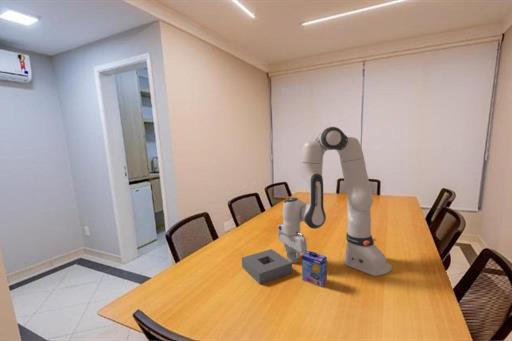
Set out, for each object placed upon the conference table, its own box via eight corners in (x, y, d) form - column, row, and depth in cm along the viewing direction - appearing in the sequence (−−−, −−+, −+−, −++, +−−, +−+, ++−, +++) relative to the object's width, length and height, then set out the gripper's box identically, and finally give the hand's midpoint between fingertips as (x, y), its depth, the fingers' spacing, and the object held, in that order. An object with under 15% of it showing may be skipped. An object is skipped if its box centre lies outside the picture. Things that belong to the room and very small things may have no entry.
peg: (297, 261, 129) (297, 247, 128) (291, 263, 127) (291, 248, 126) (293, 258, 132) (292, 244, 131) (286, 260, 130) (286, 246, 129)
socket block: (292, 272, 118) (291, 262, 118) (259, 284, 110) (259, 273, 109) (271, 257, 134) (271, 248, 133) (242, 266, 125) (241, 257, 125)
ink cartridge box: (301, 280, 112) (301, 249, 110) (307, 274, 116) (306, 245, 114) (321, 287, 105) (321, 255, 104) (327, 282, 110) (327, 251, 108)
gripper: (309, 234, 120) (310, 261, 121) (285, 222, 138) (285, 246, 139) (299, 237, 117) (300, 264, 118) (275, 224, 134) (276, 248, 136)
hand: (292, 254), depth 129 cm, fingers open, 7 cm apart
